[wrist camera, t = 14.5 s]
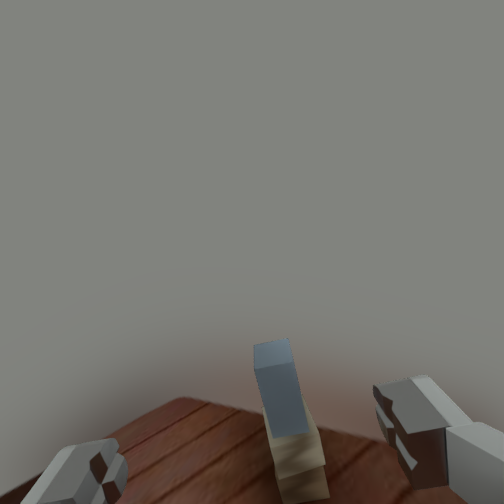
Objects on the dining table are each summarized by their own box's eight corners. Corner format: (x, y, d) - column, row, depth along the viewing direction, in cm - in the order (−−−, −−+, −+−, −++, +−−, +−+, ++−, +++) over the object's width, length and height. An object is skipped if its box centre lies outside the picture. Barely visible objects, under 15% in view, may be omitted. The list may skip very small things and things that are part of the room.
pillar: (272, 438, 30) (254, 369, 28) (270, 407, 35) (253, 345, 32) (309, 432, 30) (293, 361, 28) (302, 401, 35) (288, 338, 32)
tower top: (279, 479, 31) (270, 448, 29) (269, 434, 36) (261, 407, 35) (325, 464, 31) (318, 432, 30) (308, 422, 37) (302, 394, 36)
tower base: (283, 505, 32) (275, 476, 31) (278, 457, 38) (271, 431, 37) (330, 498, 32) (323, 468, 31) (318, 450, 38) (312, 424, 36)
